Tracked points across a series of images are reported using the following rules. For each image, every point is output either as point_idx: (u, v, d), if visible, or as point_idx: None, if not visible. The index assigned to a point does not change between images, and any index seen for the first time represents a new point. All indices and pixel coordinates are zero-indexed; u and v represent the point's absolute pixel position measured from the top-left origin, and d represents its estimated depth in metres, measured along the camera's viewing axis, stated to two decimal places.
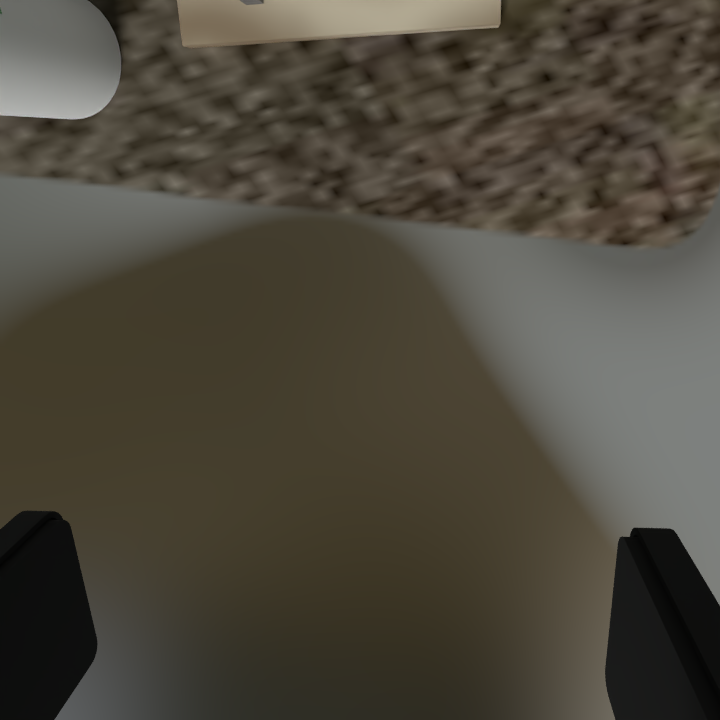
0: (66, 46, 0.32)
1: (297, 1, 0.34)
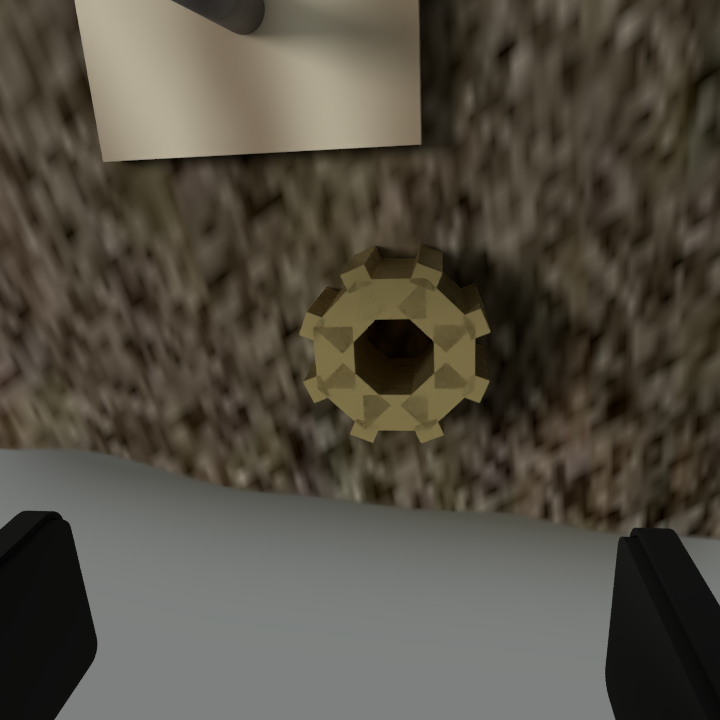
0: None
1: None
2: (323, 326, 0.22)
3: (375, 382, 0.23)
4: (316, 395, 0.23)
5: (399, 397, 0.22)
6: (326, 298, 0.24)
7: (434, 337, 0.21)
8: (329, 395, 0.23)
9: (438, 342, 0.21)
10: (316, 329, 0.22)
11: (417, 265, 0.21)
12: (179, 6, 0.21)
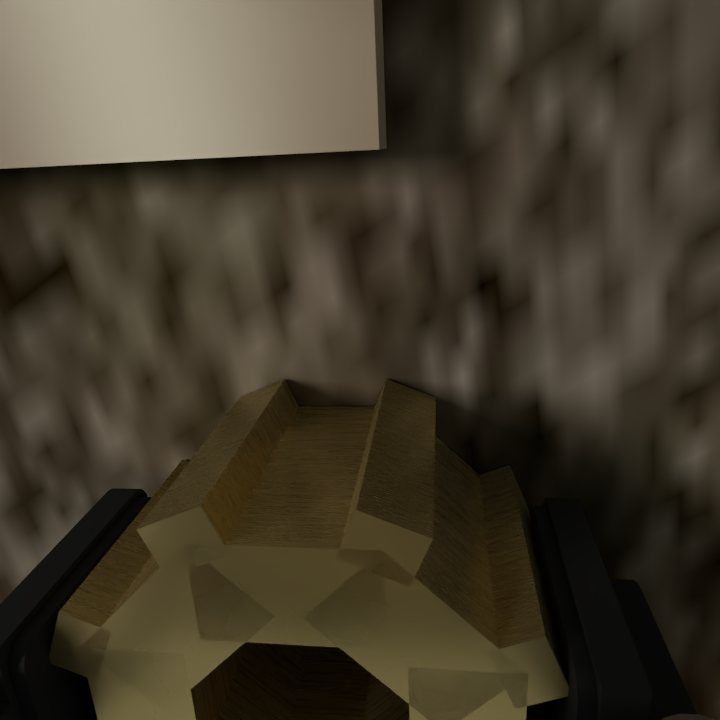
0: None
1: None
2: (108, 647, 0.08)
3: None
4: None
5: None
6: None
7: (410, 694, 0.08)
8: None
9: (422, 707, 0.08)
10: (90, 653, 0.08)
11: (357, 517, 0.07)
12: None
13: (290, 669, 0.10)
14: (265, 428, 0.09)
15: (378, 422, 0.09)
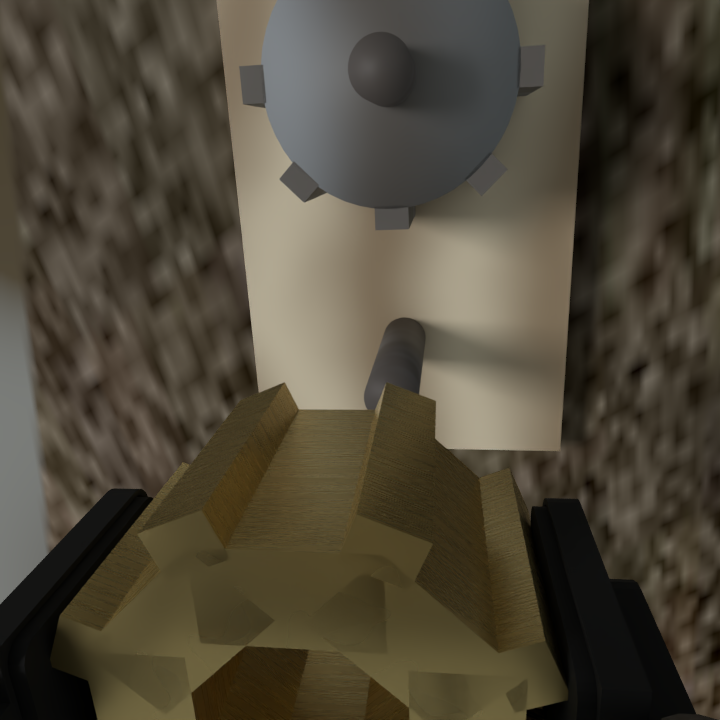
0: None
1: (283, 168, 0.22)
2: (109, 651, 0.08)
3: None
4: None
5: None
6: None
7: (410, 698, 0.08)
8: None
9: (421, 711, 0.08)
10: (91, 656, 0.08)
11: (357, 521, 0.07)
12: (347, 331, 0.24)
13: (290, 672, 0.11)
14: (265, 432, 0.09)
15: (378, 426, 0.09)
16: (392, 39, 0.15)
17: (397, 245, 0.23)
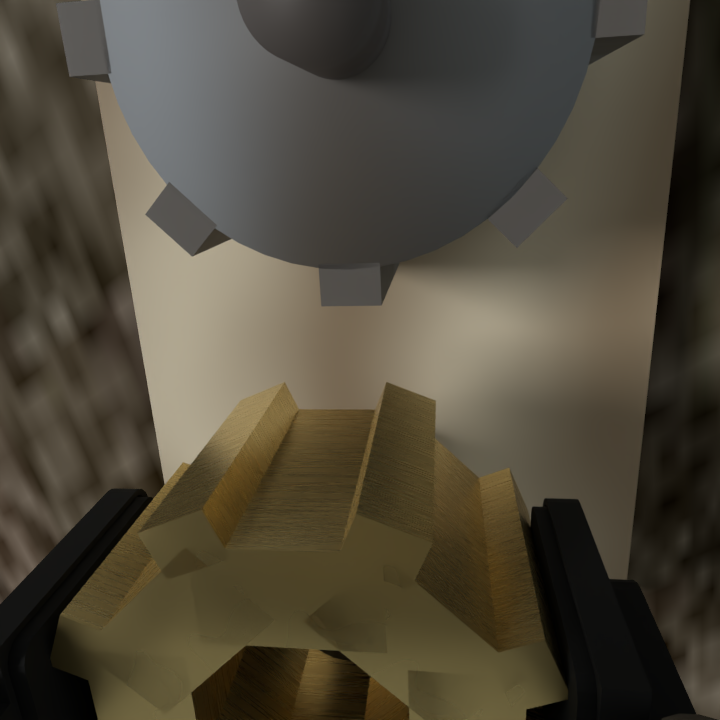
0: None
1: None
2: (109, 650, 0.08)
3: None
4: None
5: None
6: None
7: (410, 697, 0.08)
8: None
9: (421, 710, 0.08)
10: (91, 656, 0.08)
11: (357, 521, 0.07)
12: None
13: (290, 671, 0.11)
14: (265, 431, 0.09)
15: (378, 425, 0.09)
16: None
17: (372, 308, 0.14)
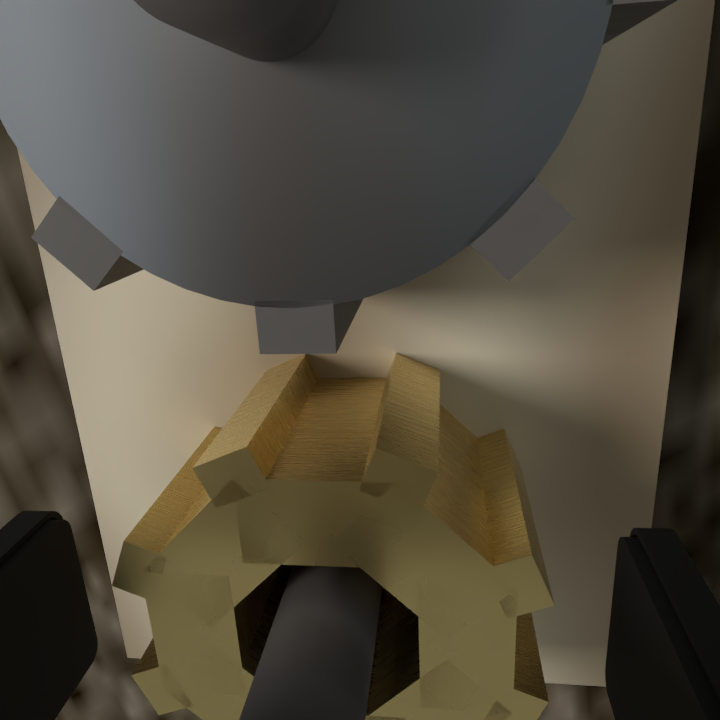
0: None
1: None
2: (164, 571, 0.09)
3: None
4: (161, 702, 0.10)
5: None
6: None
7: (419, 608, 0.09)
8: (190, 703, 0.10)
9: (429, 619, 0.09)
10: (148, 577, 0.09)
11: (376, 454, 0.08)
12: None
13: None
14: (292, 392, 0.11)
15: (390, 385, 0.10)
16: None
17: None
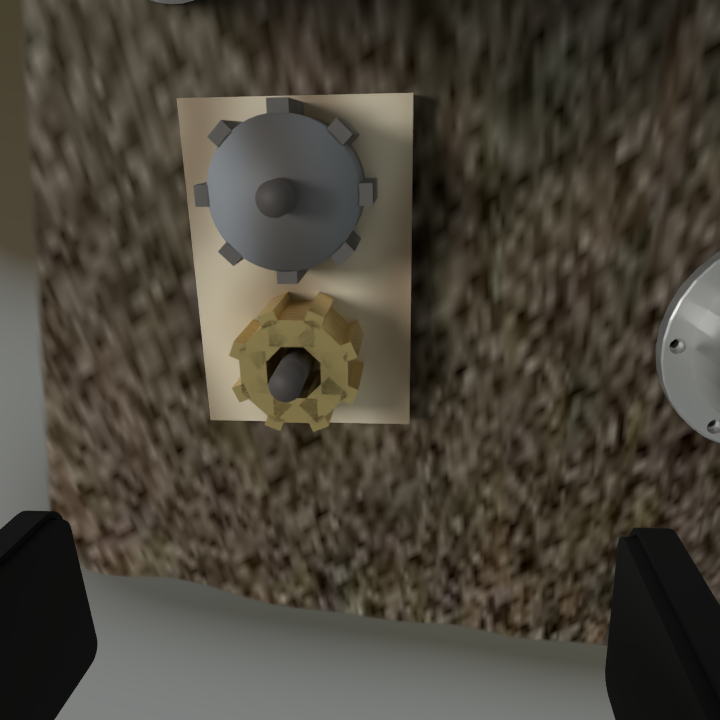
0: None
1: None
2: (245, 350, 0.32)
3: None
4: (240, 397, 0.33)
5: (298, 400, 0.32)
6: (250, 328, 0.34)
7: (320, 360, 0.32)
8: (250, 397, 0.33)
9: (323, 363, 0.32)
10: (240, 352, 0.32)
11: (308, 312, 0.31)
12: None
13: None
14: (283, 301, 0.33)
15: (315, 299, 0.33)
16: (279, 184, 0.27)
17: (299, 287, 0.34)
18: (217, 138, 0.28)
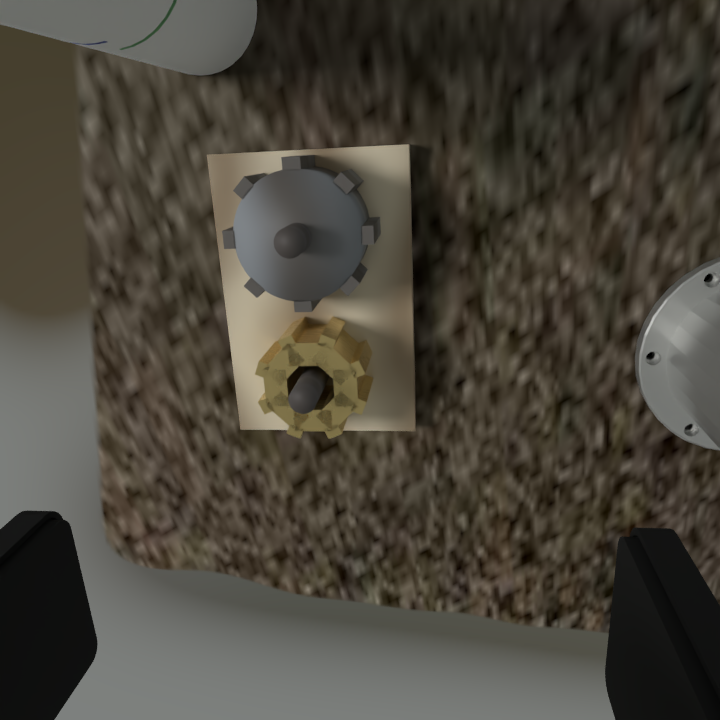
0: (155, 63, 0.31)
1: None
2: (268, 369, 0.37)
3: None
4: (265, 410, 0.38)
5: (314, 411, 0.37)
6: (273, 349, 0.39)
7: (333, 376, 0.36)
8: (273, 410, 0.38)
9: (335, 379, 0.36)
10: (264, 371, 0.37)
11: (321, 335, 0.36)
12: None
13: None
14: (301, 326, 0.38)
15: (328, 323, 0.38)
16: (294, 230, 0.32)
17: (314, 312, 0.39)
18: (241, 192, 0.34)
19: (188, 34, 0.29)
